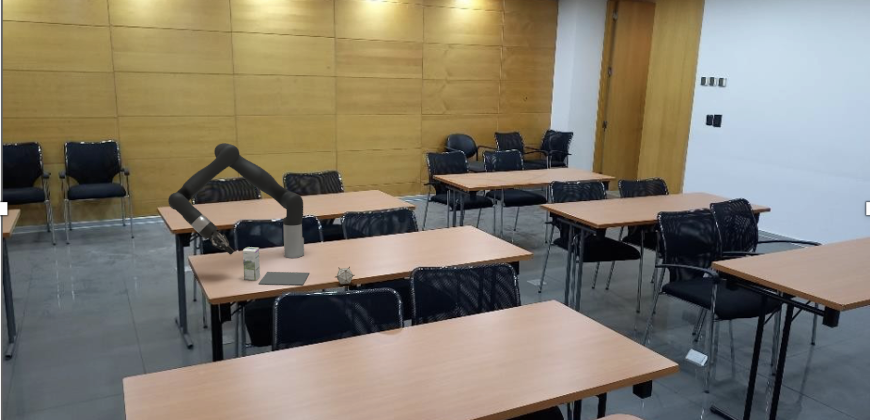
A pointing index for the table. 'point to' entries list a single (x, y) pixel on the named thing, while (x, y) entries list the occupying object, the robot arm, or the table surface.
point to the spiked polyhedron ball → (344, 276)
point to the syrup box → (251, 263)
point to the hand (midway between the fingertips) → (232, 253)
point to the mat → (284, 278)
